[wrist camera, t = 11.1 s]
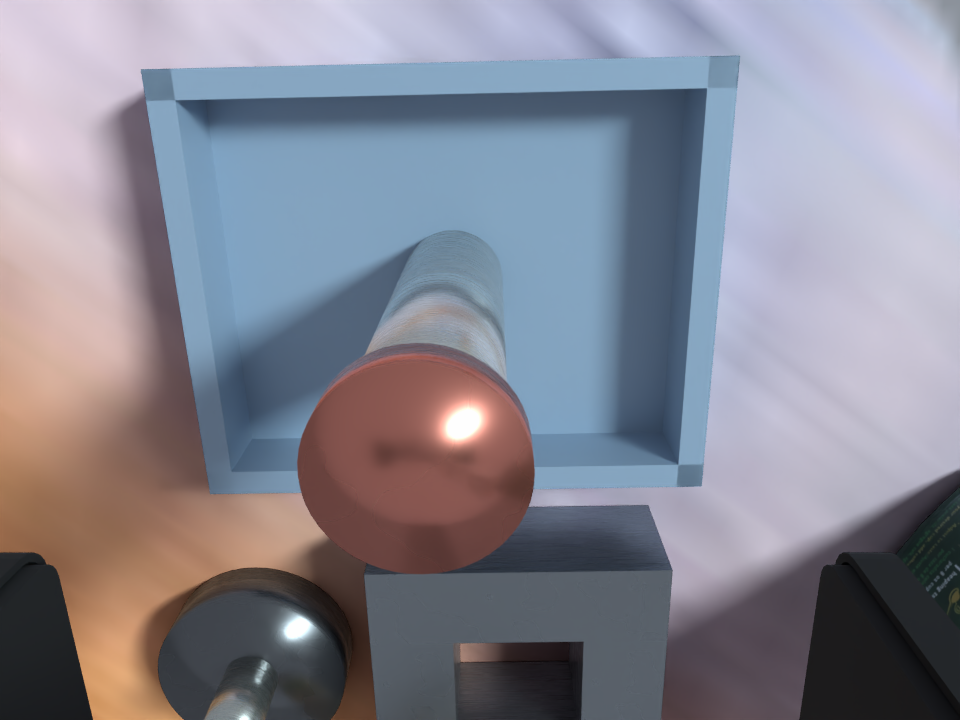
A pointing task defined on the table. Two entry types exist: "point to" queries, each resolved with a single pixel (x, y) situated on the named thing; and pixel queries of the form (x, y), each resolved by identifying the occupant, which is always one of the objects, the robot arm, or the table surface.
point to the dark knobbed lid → (256, 650)
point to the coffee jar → (938, 556)
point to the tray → (453, 206)
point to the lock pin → (424, 423)
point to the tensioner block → (530, 624)
